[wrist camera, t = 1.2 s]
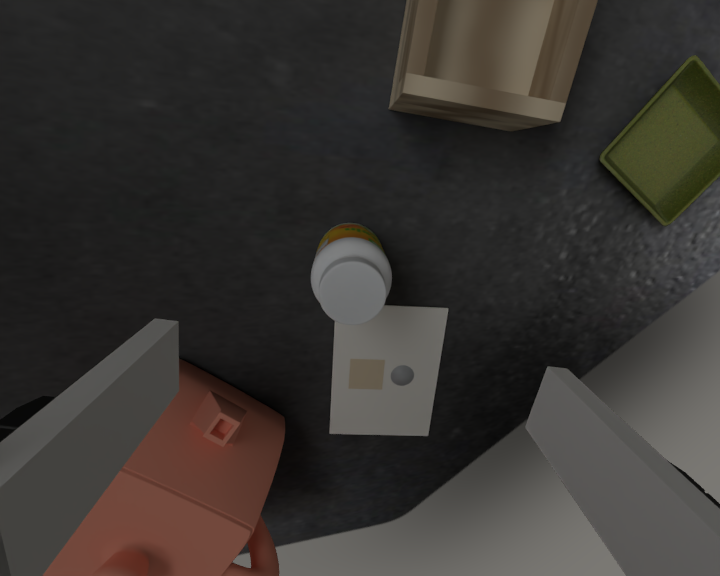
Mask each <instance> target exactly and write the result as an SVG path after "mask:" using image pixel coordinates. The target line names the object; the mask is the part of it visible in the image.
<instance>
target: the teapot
mask: <svg viewBox="0 0 720 576" xmlns="http://www.w3.org/2000/svg"><path fill="white" fill-rule="evenodd" d="M284 437H285V418H284V417H283V416H282V415H281V414H279V413H278V412H276V411H275V410H273V409H271V408H270V407H268V406H266V405H265V404H263V403H261V402H259V401H258V400H256V399H254V398H252V397H251V396H249V395H247V394H245V393H244V392H242V391H240V390H238V389H237V388H235V387H233V386H231V385H229V384H228V383H226V382H224V381H222V380H220V379H218V378H217V377H215V376H213V375H211V374H209V373H207V372H205V371H204V370H202V369H200V368H198V367H196V366H194V365H192V364H190V363H188V362H186V361H184V360H182V359H179V392H178V393H177V394H176V396H175V397H174V398H173V400H172V401H171V402H170V404H169V405H168V407H167V408H166V409H165V411H164V412H163V413H162V415H161V416H160V417H159V419H158V420H157V421H156V423H155V424H154V425H153V427H152V428H151V429H150V431H149V432H148V434H147V435H146V436H145V438H144V439H143V440H142V442H141V443H140V444H139V446H138V447H137V448H136V450H135V451H134V452H133V454H132V455H131V457H130V458H129V459H128V461H127V462H126V463H125V465H124V466H123V467H122V469H121V470H120V471H119V473H118V474H117V475H116V477H115V478H114V479H113V481H112V482H111V484H110V485H109V486H108V488H107V489H106V490H105V492H104V493H103V494H102V496H101V497H100V498H99V500H98V501H97V502H96V504H95V505H94V507H93V508H92V509H91V511H90V512H89V513H88V515H87V516H86V517H85V519H84V520H83V521H82V523H81V524H80V525H79V527H78V528H77V529H76V531H75V532H74V534H73V535H72V536H71V538H70V539H69V540H68V542H67V543H66V544H65V546H64V547H63V548H62V550H61V551H60V552H59V554H58V555H57V556H56V558H55V559H54V561H53V562H52V563H51V565H50V566H49V567H48V569H47V570H46V571H45V573H44V574H43V575H42V576H279V563H278V558H277V553H276V549H275V546H274V543H273V540H272V538H271V535H270V533H269V531H268V529H267V527H266V525H265V523H264V521H263V519H262V517H261V515H260V514H261V511H262V508H263V506H264V503H265V500H266V498H267V495H268V492H269V489H270V486H271V484H272V481H273V478H274V475H275V471H276V468H277V465H278V462H279V458H280V454H281V451H282V447H283V442H284ZM246 543H248V547H249V552H250V557H251V568H246V567H243V566H240V565H237V564H234V563H232V562H233V560H234V559H235V558H236V557H237V555H238V554H239V553H240V551H241V550H242V549H243V548H244V546H245V545H246Z"/></svg>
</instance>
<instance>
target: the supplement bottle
mask: <svg viewBox="0 0 720 576" xmlns="http://www.w3.org/2000/svg"><path fill="white" fill-rule="evenodd" d="M391 283H392V271H391V267H390V264H389V261H388V259H387V257H386V255H385V253H384V250H383V248H382V246H381V244H380V241H379V240H378V238H377V237H376V235H375V234H374V233H373V232H372V231H371V230H369V229H368V228H367V227H365V226H363V225H360V224H356V223H344V224H340V225H337V226H335V227H333V228H332V229H330V230H329V231H328V232H327V233H326V234H325V235H324V237H323V238H322V240H321V241H320V244H319V246H318V249H317V253H316V256H315V259H314V263H313V266H312V270H311V285H312V289H313V292H314V295H315V296H316V298H317V300H318V301H319V302H320V304H321V306H322V308H323V310H324V311H325V313H326V314H327V315H328V316H329V317H330V318H332V319H333V320H335V321H336V322H339V323H341V324H345V325H360V324H364V323H366V322H368V321H370V320H372V319H373V318H374V317H376V316H377V315H378V314H379V312H380V311H381V310H382V308H383V306H384V304H385V301H386V298H387V296H388V294H389V291H390V288H391Z"/></svg>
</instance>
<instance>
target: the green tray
mask: <svg viewBox="0 0 720 576" xmlns="http://www.w3.org/2000/svg"><path fill="white" fill-rule="evenodd" d="M600 161H601V163H602V164H603V165H604V166H605V167H606V168H607V169H608V170H609V171H610V172H611V173H612V174H613V175H614V176H615V177H616V178H617V179H618V180H619V181H620V182H621V183H622V184H623V185H624V186H625V187H626V188H627V189H628V190H629V191H630V192H631V193H632V194H633V195H634V196H635V198H636V199H637V200H638V201H639V202H640V203H641V204H642V205H643V206H644V207H645V208H646V209H647V210H648V211H649V212H650V213H651V214H652V215H653V216H654V217H655V218H656V219H657V220H658V221H659V222H660V223H661V224H662V225H663V226H667V225H669V224H671V223H672V222H673V221H674V220H675V219H676V218H677V217H678V216H680V215H681V213H682V212H684V211H685V209H687V208H688V207H689V206H690V205H691V203H693V202H694V201H695V200H696V199H697V198H698V197H699V196H700V195H701V194H702V193H703V192H704V191H705V190H706V189H707V188H708V187H709V186H710V185H711V184H712V183H713V182H714V181H715V180H716V179H717V178H718V177H719V176H720V84H719V83H718V82H717V81H716V80H715V78H714V77H713V76H712V74H711V73H710V71H709V70H708V69H707V68H706V66H705V65H704V64H703V62H702V61H701V60H700V59H699V58H698V57H697V56H695V55H694V56H691V57H689V58H688V59H687V60H686V61H685V62H684V63H683V64H682V65H681V66H680V68H679V69H678V70H677V71H676V72H675V73H674V74H673V75H672V76H671V78H670V79H669V80H668V81H667V82H666V83H665V84H664V85H663V86H662V87H661V88H660V90H659V91H658V92H657V93H656V94H655V95H654V96H653V97H652V98H651V99H650V101H649V102H648V103H647V104H646V105H645V106H644V107H643V108H642V109H641V110H640V112H639V113H638V114H637V115H636V116H635V117H634V118H633V119H632V120H631V121H630V123H629V124H628V125H627V126H626V127H625V128H624V129H623V130H622V131H621V132H620V134H619V135H618V136H617V137H616V138H615V139H614V140H613V141H612V142H611V143H610V144H609V146H608V147H607V148H606V149H605V150H604V151H603V152H602V153H601V155H600Z"/></svg>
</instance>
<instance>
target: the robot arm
mask: <svg viewBox="0 0 720 576" xmlns="http://www.w3.org/2000/svg"><path fill="white" fill-rule="evenodd" d="M178 392H179V321H171V320H163V319H154V320H152V321H151V322H150V323H149V324H147V325H146V326H145V327H144V328H142V329H141V330H140V331H139V332H137V333H136V334H135V335H134V336H132V337H131V338H130V339H129V340H127V341H126V342H125V343H124V344H122V345H121V346H120V347H119V348H117V349H116V350H115V351H114V352H112V353H111V354H110V355H109V356H107V357H106V358H105V359H104V360H102V361H101V362H100V363H99V364H97V365H96V366H95V367H94V368H92V369H91V370H90V371H89V372H87V373H86V374H85V375H84V376H82V377H81V378H80V379H79V380H77V381H76V382H75V383H74V384H72V385H71V386H70V387H69V388H67V389H66V390H65V391H64V392H62V393H61V394H60V395H59V396H57V397H49V396H42V397H40V398H38V399H35V400H33V401H31V402H29V403H27V404H25V405H22V406H20V407H18V408H16V409H15V410H13V411H12V412H10V413H9V414H8V415H6V416H5V417H4V418H2V419H1V420H0V576H42V575H43V574H44V573H45V571H46V570H47V569H48V567H49V566H50V565H51V563H52V562H53V561H54V559H55V558H56V556H57V555H58V554H59V552H60V551H61V550H62V548H63V547H64V546H65V544H66V543H67V542H68V540H69V539H70V538H71V536H72V535H73V534H74V532H75V531H76V529H77V528H78V527H79V525H80V524H81V523H82V521H83V520H84V519H85V517H86V516H87V515H88V513H89V512H90V511H91V509H92V508H93V507H94V505H95V504H96V502H97V501H98V500H99V498H100V497H101V496H102V494H103V493H104V492H105V490H106V489H107V488H108V486H109V485H110V484H111V482H112V481H113V479H114V478H115V477H116V475H117V474H118V473H119V471H120V470H121V469H122V467H123V466H124V465H125V463H126V462H127V461H128V459H129V458H130V457H131V455H132V454H133V452H134V451H135V450H136V448H137V447H138V446H139V444H140V443H141V442H142V440H143V439H144V438H145V436H146V435H147V434H148V432H149V431H150V429H151V428H152V427H153V425H154V424H155V423H156V421H157V420H158V419H159V417H160V416H161V415H162V413H163V412H164V411H165V409H166V408H167V407H168V405H169V404H170V402H171V401H172V400H173V398H174V397H175V396H176V394H177V393H178ZM525 428H526V430H527V431H528V432H529V434H530V435H531V437H532V438H533V440H534V441H535V443H536V444H537V446H538V447H539V448H540V450H541V452H542V453H543V454H544V456H545V457H546V459H547V460H548V462H549V463H550V465H551V466H552V468H553V469H554V471H555V472H556V474H557V475H558V476H559V478H560V479H561V481H562V482H563V484H564V485H565V487H566V488H567V489H568V491H569V492H570V494H571V495H572V497H573V498H574V500H575V501H576V503H577V504H578V506H579V507H580V509H581V510H582V512H583V513H584V515H585V516H586V517H587V519H588V520H589V522H590V523H591V525H592V526H593V528H594V529H595V531H596V532H597V534H598V535H599V537H600V538H601V539H602V541H603V542H604V544H605V545H606V546H607V548H608V549H609V551H610V552H611V554H612V556H613V557H614V558H615V560H616V561H617V563H618V564H619V566H620V567H621V569H622V570H623V572H624V573H625V575H626V576H720V504H719V503H718V502H717V501H716V500H715V499H714V498H713V497H712V496H711V495H709V494H708V493H705V492H704V491H705V490H704V489H703V488H702V487H701V486H700V485H698V484H697V483H696V482H695V481H694V480H693V479H692V478H691V477H689V476H688V475H687V474H686V473H685V472H684V471H682V470H681V469H679V468H678V467H676V466H675V465H673V464H672V463H670V462H669V461H667V460H666V459H665V458H664V457H663V456H662V455H660V454H659V453H658V452H657V451H656V450H655V449H654V448H653V447H652V446H651V445H650V444H649V443H647V442H646V441H645V440H644V439H643V438H642V437H641V436H640V435H639V434H638V433H637V432H635V431H634V430H633V429H632V428H631V427H630V426H629V425H628V424H627V423H626V422H625V421H624V420H622V419H621V418H620V417H619V416H618V415H617V414H616V413H615V412H614V411H613V410H612V409H610V408H609V407H608V406H607V405H606V404H605V403H604V402H603V401H602V400H601V399H600V398H598V397H597V396H596V395H595V394H594V393H593V392H592V391H591V390H590V389H589V388H588V387H586V386H585V385H584V384H583V383H582V382H581V381H580V380H579V379H578V378H577V377H576V376H575V375H574V374H572V373H571V372H570V371H569V370H568V369H566V368H557V367H549V366H548V367H547V369H546V372H545V375H544V377H543V380H542V383H541V385H540V388H539V391H538V394H537V396H536V399H535V402H534V404H533V407H532V410H531V412H530V415H529V418H528V420H527V423H526V426H525Z"/></svg>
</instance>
